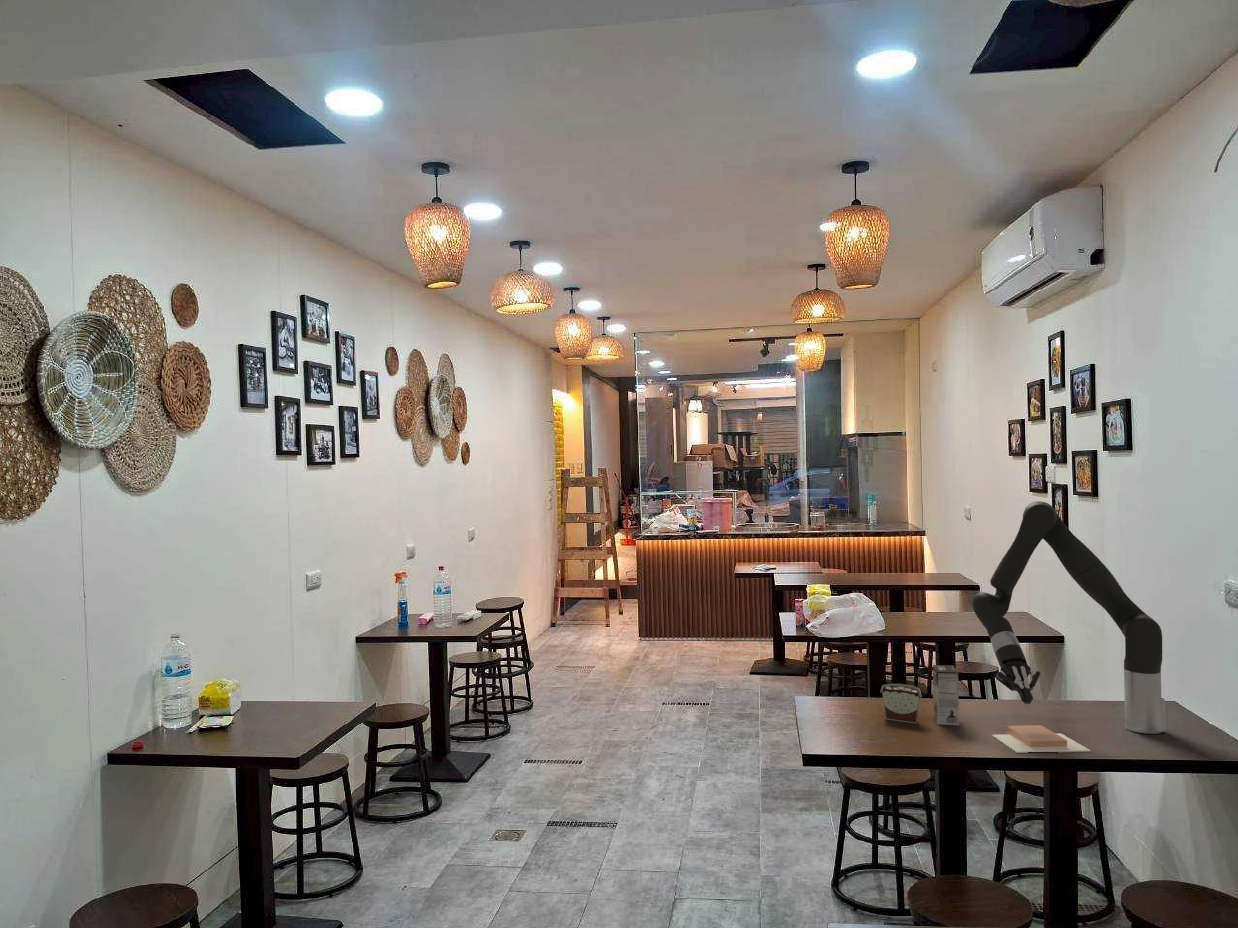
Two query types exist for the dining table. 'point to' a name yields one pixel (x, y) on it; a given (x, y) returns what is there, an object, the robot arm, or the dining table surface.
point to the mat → (1022, 748)
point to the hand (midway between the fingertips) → (1028, 702)
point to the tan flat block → (1037, 736)
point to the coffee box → (945, 695)
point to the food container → (901, 702)
